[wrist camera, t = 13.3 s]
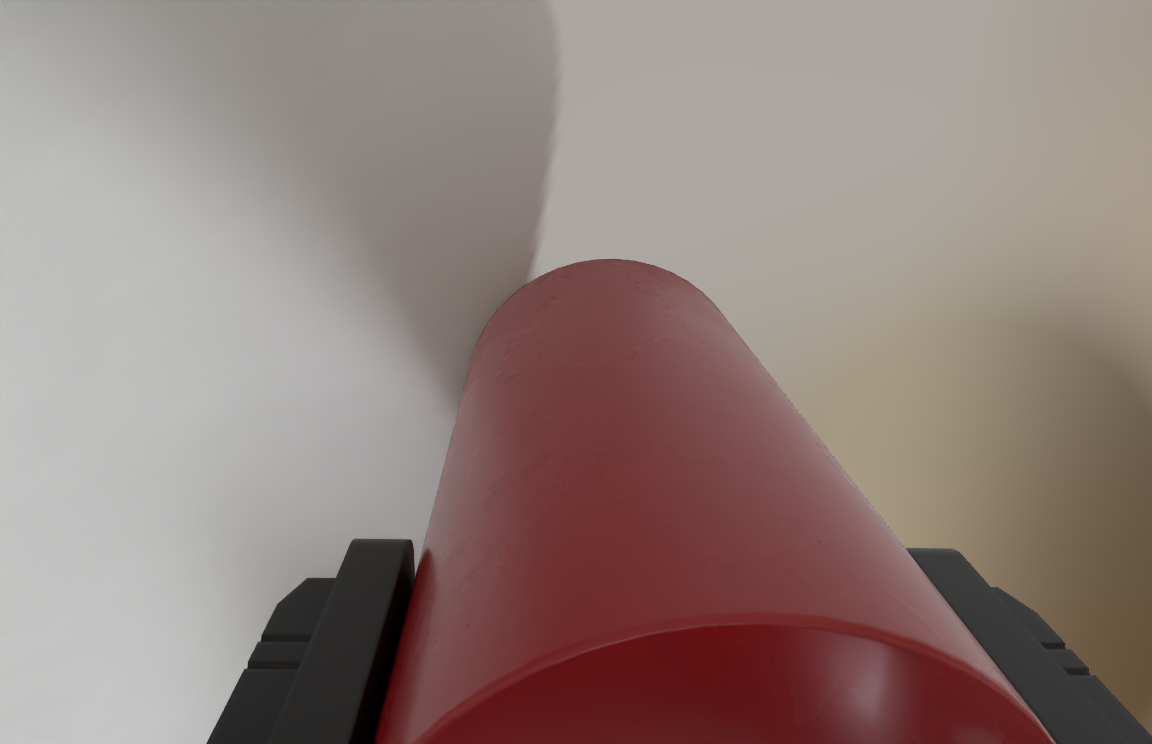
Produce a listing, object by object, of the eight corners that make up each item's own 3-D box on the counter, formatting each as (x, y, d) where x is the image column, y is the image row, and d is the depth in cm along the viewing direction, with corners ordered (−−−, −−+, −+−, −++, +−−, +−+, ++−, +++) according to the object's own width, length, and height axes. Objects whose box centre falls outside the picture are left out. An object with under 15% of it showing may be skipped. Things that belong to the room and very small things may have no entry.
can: (467, 513, 18) (356, 1152, 7) (465, 253, 16) (304, 615, 5) (727, 517, 18) (991, 1133, 8) (760, 263, 16) (1195, 622, 5)
